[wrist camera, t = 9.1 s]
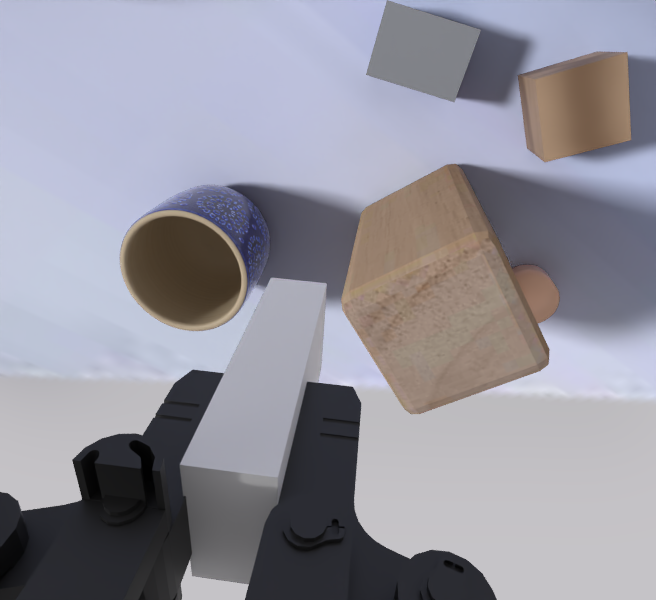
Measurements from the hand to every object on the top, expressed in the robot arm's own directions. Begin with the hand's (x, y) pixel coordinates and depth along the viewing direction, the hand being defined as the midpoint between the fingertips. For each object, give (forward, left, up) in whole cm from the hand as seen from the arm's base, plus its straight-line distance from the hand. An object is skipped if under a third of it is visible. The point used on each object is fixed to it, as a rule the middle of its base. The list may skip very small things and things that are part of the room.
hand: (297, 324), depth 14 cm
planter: (-13, -10, -35) cm, 39 cm away
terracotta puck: (+17, -13, -35) cm, 41 cm away
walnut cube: (+16, +4, -35) cm, 38 cm away
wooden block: (+7, -8, -35) cm, 36 cm away
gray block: (+4, +7, -35) cm, 35 cm away
